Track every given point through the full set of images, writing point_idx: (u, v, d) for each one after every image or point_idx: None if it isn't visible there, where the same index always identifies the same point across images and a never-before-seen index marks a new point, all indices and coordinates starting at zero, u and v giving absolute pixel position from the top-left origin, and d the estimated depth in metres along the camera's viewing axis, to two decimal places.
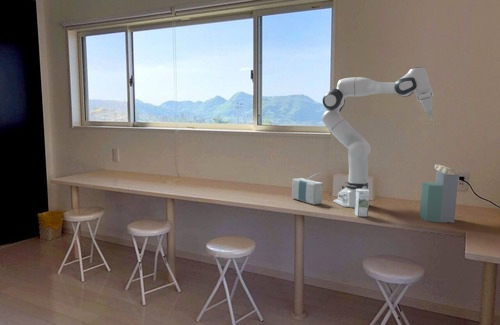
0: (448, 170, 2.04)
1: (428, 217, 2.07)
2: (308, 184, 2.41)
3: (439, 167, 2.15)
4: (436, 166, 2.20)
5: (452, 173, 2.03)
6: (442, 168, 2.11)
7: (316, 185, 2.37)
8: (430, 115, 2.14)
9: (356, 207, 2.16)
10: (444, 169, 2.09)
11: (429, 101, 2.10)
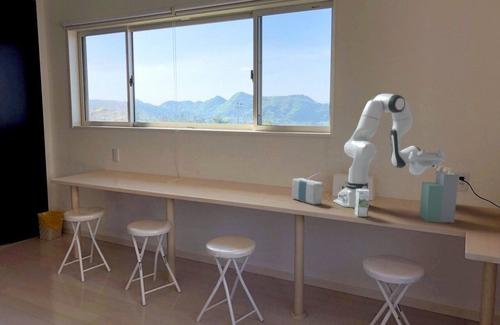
0: (448, 170, 2.04)
1: (428, 217, 2.07)
2: (308, 184, 2.41)
3: (439, 167, 2.15)
4: (436, 166, 2.20)
5: (452, 173, 2.03)
6: (442, 168, 2.11)
7: (316, 185, 2.37)
8: (440, 153, 2.32)
9: (356, 207, 2.16)
10: (444, 169, 2.09)
11: None
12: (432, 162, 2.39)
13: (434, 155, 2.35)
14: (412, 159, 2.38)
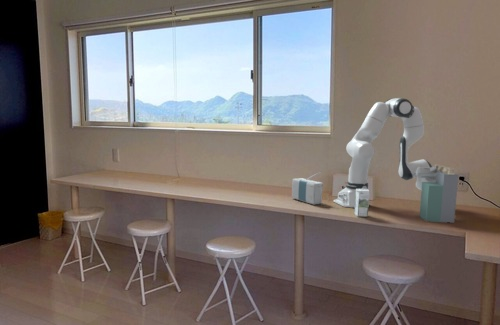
0: (448, 170, 2.04)
1: (428, 217, 2.07)
2: (308, 184, 2.41)
3: (439, 167, 2.15)
4: None
5: (452, 173, 2.03)
6: (442, 168, 2.11)
7: (316, 185, 2.37)
8: None
9: (356, 207, 2.16)
10: (444, 169, 2.09)
11: None
12: None
13: None
14: (419, 175, 2.25)
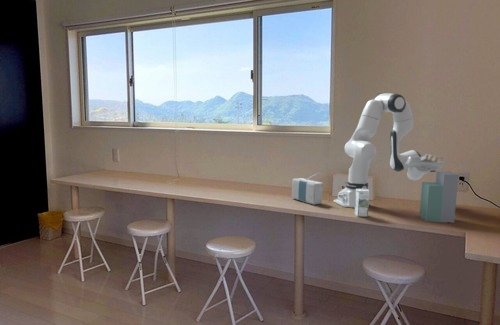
0: (437, 158, 2.12)
1: (428, 217, 2.07)
2: (308, 184, 2.41)
3: (429, 156, 2.24)
4: None
5: (441, 161, 2.11)
6: (432, 157, 2.20)
7: (316, 185, 2.37)
8: None
9: (356, 207, 2.16)
10: (434, 158, 2.17)
11: None
12: (430, 167, 2.34)
13: None
14: (410, 164, 2.33)
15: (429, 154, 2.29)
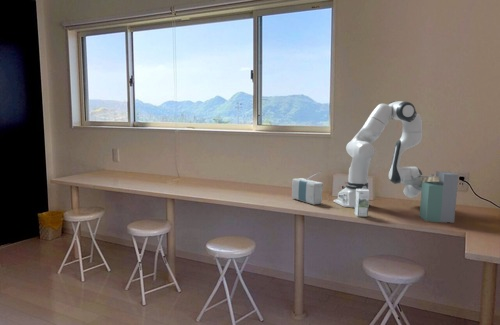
0: (433, 177, 2.06)
1: (428, 217, 2.07)
2: (308, 184, 2.41)
3: (424, 178, 2.17)
4: (422, 179, 2.21)
5: (437, 180, 2.04)
6: (427, 178, 2.13)
7: (316, 185, 2.37)
8: None
9: (356, 207, 2.16)
10: (429, 178, 2.11)
11: None
12: None
13: None
14: (406, 182, 2.26)
15: None
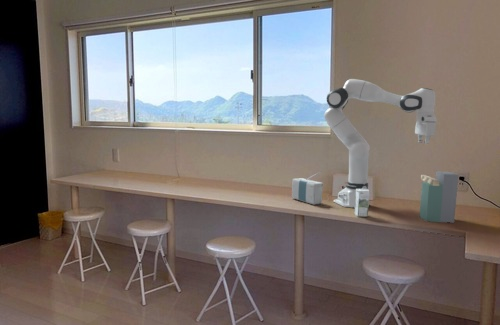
0: (433, 181, 2.05)
1: (428, 217, 2.07)
2: (308, 184, 2.41)
3: (425, 178, 2.17)
4: (422, 176, 2.21)
5: (437, 184, 2.04)
6: (427, 179, 2.13)
7: (316, 185, 2.37)
8: (427, 139, 2.16)
9: (356, 207, 2.16)
10: (429, 180, 2.10)
11: (434, 126, 2.11)
12: None
13: None
14: None
15: (425, 175, 2.22)
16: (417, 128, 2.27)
